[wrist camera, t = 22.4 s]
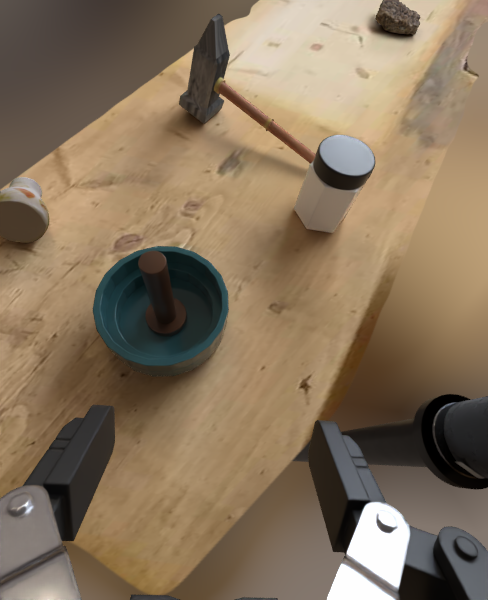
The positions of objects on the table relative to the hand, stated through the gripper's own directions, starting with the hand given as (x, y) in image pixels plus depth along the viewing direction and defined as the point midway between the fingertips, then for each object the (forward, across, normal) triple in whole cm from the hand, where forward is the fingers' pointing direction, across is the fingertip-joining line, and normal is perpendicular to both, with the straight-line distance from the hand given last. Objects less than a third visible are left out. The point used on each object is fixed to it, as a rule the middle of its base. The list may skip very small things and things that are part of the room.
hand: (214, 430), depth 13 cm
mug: (+41, +30, -1) cm, 50 cm away
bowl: (+31, +7, +9) cm, 33 cm away
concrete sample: (+93, -39, -53) cm, 114 cm away
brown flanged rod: (+30, +7, +8) cm, 32 cm away
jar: (+46, -15, -6) cm, 49 cm away
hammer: (+57, -4, -17) cm, 60 cm away
